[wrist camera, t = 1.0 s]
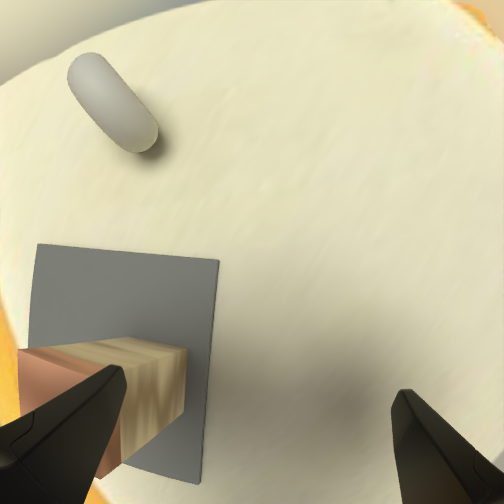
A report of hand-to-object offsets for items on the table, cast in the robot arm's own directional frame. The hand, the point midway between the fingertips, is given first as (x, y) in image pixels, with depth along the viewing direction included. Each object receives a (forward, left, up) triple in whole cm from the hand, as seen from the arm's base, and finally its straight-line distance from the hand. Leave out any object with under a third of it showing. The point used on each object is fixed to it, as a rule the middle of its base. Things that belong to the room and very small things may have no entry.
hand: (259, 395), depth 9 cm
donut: (+17, +14, -13) cm, 25 cm away
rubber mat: (-3, +14, -13) cm, 19 cm away
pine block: (-3, +9, -12) cm, 16 cm away
